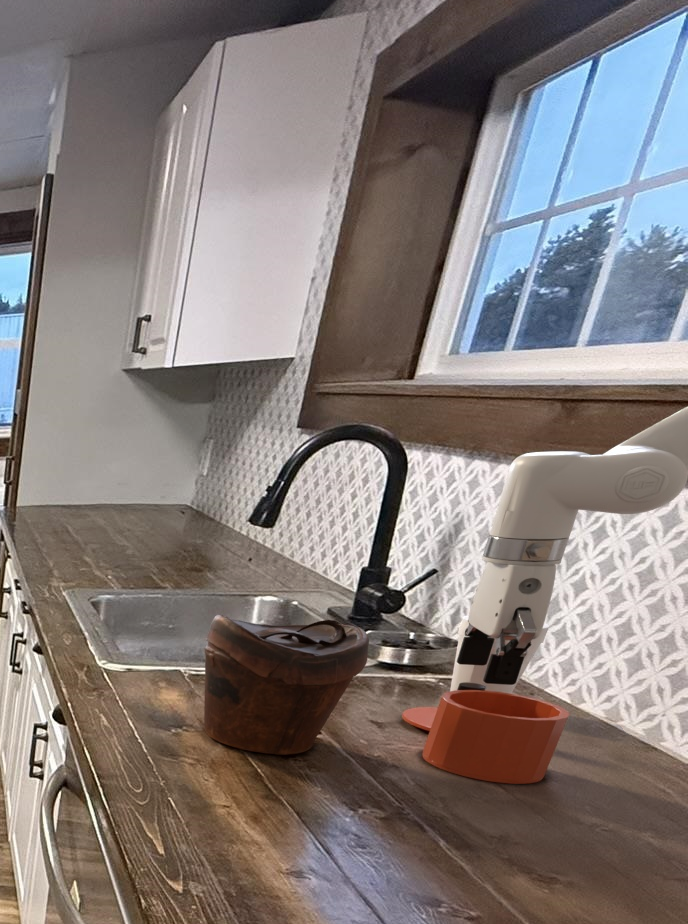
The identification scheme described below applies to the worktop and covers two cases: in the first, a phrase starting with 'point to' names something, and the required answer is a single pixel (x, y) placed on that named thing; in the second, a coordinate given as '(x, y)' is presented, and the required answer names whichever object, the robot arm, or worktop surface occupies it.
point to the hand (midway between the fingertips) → (484, 673)
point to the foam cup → (478, 671)
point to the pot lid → (432, 709)
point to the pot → (494, 736)
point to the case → (277, 681)
